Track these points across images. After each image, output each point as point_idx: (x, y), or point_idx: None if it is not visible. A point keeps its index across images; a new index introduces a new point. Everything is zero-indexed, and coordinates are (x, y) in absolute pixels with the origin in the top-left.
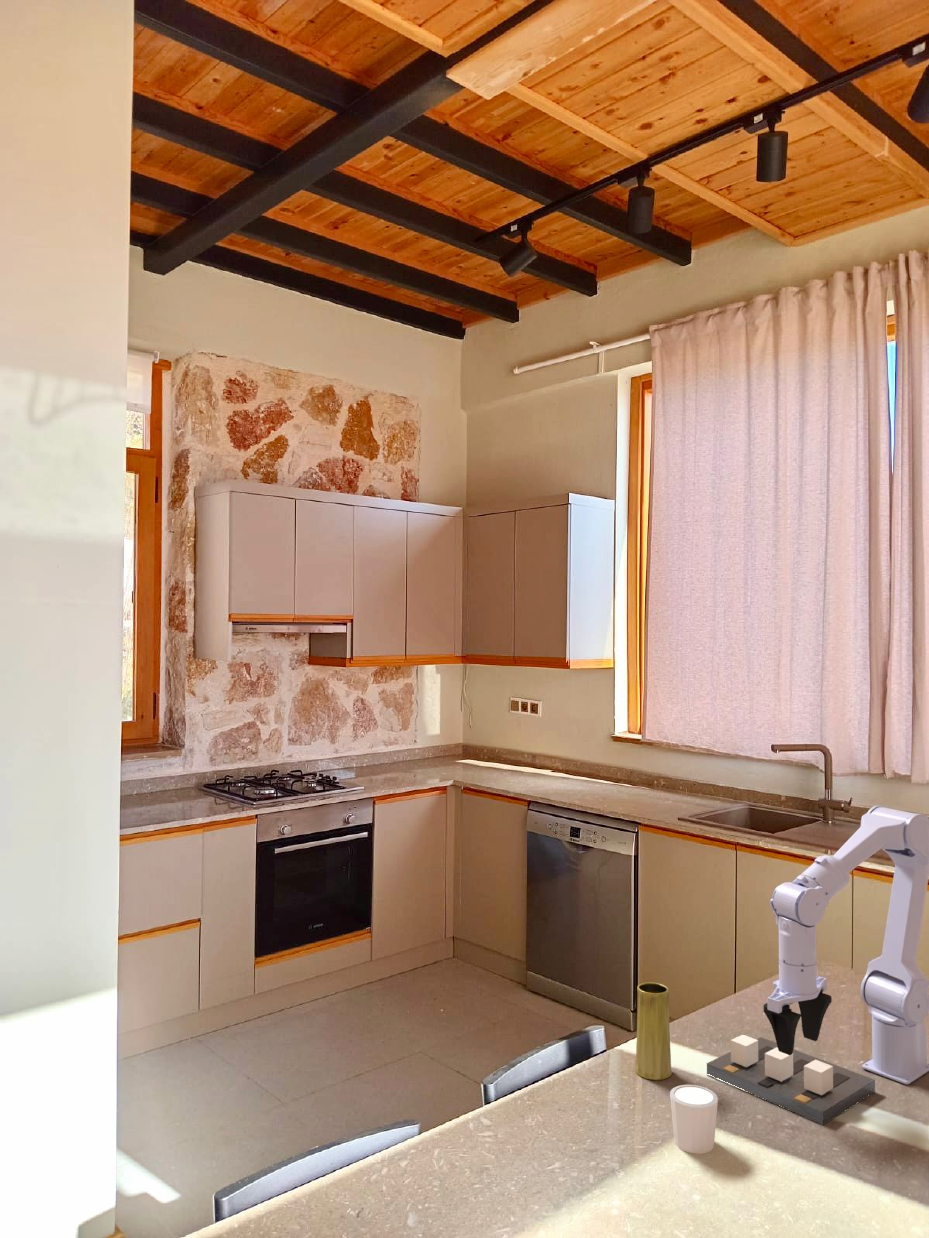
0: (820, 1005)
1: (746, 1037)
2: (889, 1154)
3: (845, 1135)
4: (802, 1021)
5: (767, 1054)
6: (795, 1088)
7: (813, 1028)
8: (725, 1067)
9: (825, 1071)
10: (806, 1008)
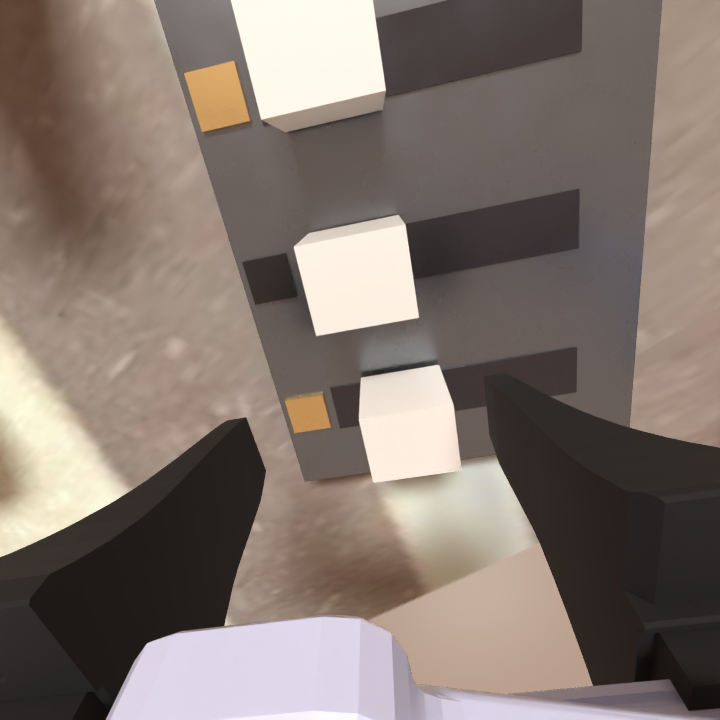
0: (594, 665)
1: (351, 8)
2: (345, 582)
3: (323, 506)
4: (515, 409)
5: (298, 261)
6: (343, 354)
7: (512, 464)
8: (197, 72)
9: (402, 475)
10: (560, 510)
